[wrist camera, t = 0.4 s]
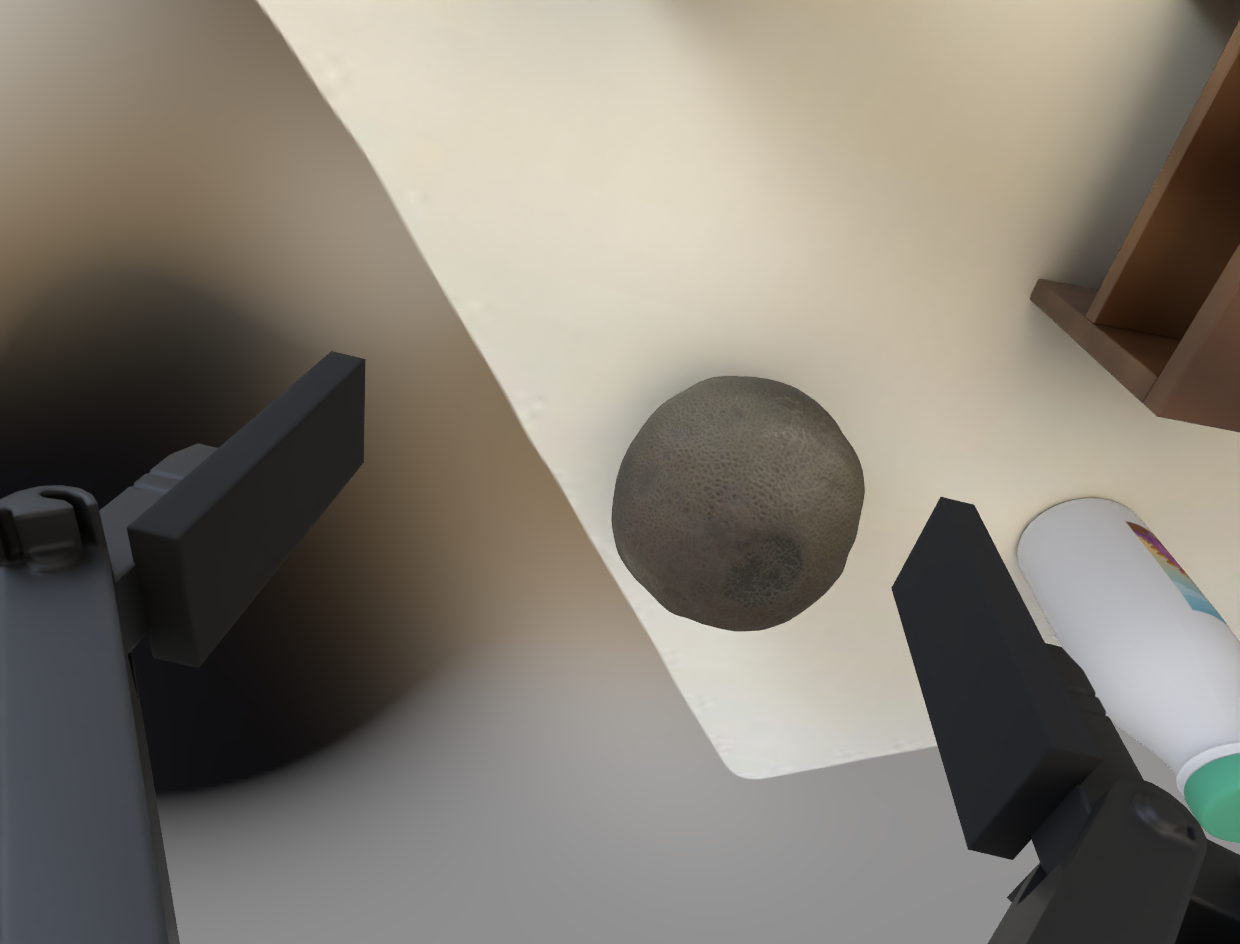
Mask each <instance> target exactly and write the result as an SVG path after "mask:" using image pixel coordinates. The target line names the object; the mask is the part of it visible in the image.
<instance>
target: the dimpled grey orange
mask: <svg viewBox="0 0 1240 944" xmlns="http://www.w3.org/2000/svg"><path fill="white" fill-rule="evenodd" d="M864 493H865V488H864V477H863V471H862V468H861V464H860V461H859V459H858V456H857V455H856V453H855V451H854V449H853V447H852V446H851V445H850V443H849V442H848V440H847V439H846V438H845V436H844V435H843V433H842V431H841V430H840V428H839V426H838V425H837V423H836V422H835V420H834V419H833V418H832V417H831V416H830V414H829V413H828V412H827V411H826V410H825V409H824V408H823V407H821V406H820V405H819V404H818V403H817V402H816V401H815V400H814V399H812V398H811V397H809V396H808V395H806V394H805V393H803V392H801V391H800V390H798V389H796V388H794V387H792V386H790V385H786V384H784V383H781V382H777V381H773V380H768V379H763V378H757V377H738V376H722V377H713V378H710V379H706V380H704V381H702V382H699V383H697V384H696V385H694V386H692V387H690V388H689V389H687V390H685V391H683V392H681V393H680V394H678V395H676V396H674V397H673V398H671V399H669V400H668V401H666V402H665V403H664V404H662V405H661V406H660V407H659V408H658V409H657V410H656V411H655V412H654V413H653V414H652V415H651V416H650V418H649V419H648V420H647V422H646V423H645V424H644V425H643V427H642V428H641V430H640V431H639V433H638V434H637V436H636V437H635V439H634V440H633V441H632V443H631V444H630V446H629V448H628V450H627V452H626V454H625V456H624V459H623V461H622V463H621V466H620V469H619V472H618V476H617V479H616V485H615V491H614V497H613V507H612V528H613V534H614V539H615V544H616V548H617V551H618V554H619V555H620V557H621V560H622V561H623V563H624V564H625V566H626V567H627V569H628V570H629V571H630V573H631V574H632V575H633V577H634V578H635V579H636V580H637V581H638V582H639V583H640V584H641V585H643V586H644V587H645V588H646V589H647V591H648V592H649V593H650V594H651V595H652V596H653V597H654V598H655V599H656V600H657V601H658V602H659V603H660V604H661V605H662V606H663V607H664V608H666V609H667V610H668V611H669V612H671V613H673V614H675V615H678V616H682V617H685V618H689V619H691V620H694V621H696V622H699V623H702V624H705V625H709V626H713V627H716V628H721V629H725V630H731V631H758V630H764V629H768V628H771V627H774V626H776V625H779V624H782V623H785V622H787V621H789V620H791V619H792V618H794V617H795V616H797V615H798V614H800V613H801V612H803V611H804V610H805V609H807V608H808V607H809V606H811V605H812V604H813V603H815V602H816V601H817V600H818V599H819V598H820V597H822V596H823V595H824V594H825V593H826V592H827V591H828V590H829V589H830V587H831V586H832V585H833V584H834V582H835V581H836V580H837V579H838V578H839V577H840V575H841V574H842V572H843V570H844V567H845V564H846V560H847V557H848V554H849V552H850V550H851V548H852V546H853V544H854V541H855V539H856V535H857V530H858V525H859V520H860V515H861V510H862V506H863V500H864Z"/></svg>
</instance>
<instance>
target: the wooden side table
mask: <svg viewBox="0 0 1240 944" xmlns="http://www.w3.org/2000/svg"><path fill="white" fill-rule="evenodd" d="M1030 300H1031V301H1033V302H1034V303H1035V304H1036V305H1037V306H1038V307H1039V308H1040V309H1041V310H1042V311H1043V312H1044V313H1046V314H1047V315H1048V316H1049V317H1050V318H1051V319H1052V320H1053V321H1054V322H1055V323H1056V324H1057V325H1059V326H1060V327H1061V328H1062V329H1063V330H1064V331H1065V332H1066V333H1067V334H1068V335H1069V336H1070V337H1071V338H1073V339H1074V340H1075V341H1076V342H1077V343H1078V344H1079V345H1080V346H1081V347H1082V348H1083V349H1084V350H1086V351H1087V352H1088V353H1089V354H1090V355H1091V356H1092V357H1093V358H1094V359H1095V360H1096V361H1097V362H1099V363H1100V364H1101V365H1102V366H1103V367H1104V368H1105V369H1106V370H1107V371H1108V372H1109V373H1110V374H1111V375H1113V376H1114V377H1115V378H1116V379H1117V380H1118V381H1119V382H1120V383H1121V384H1122V385H1123V386H1124V387H1126V388H1127V389H1128V390H1129V391H1130V392H1131V393H1132V394H1133V395H1134V396H1135V397H1136V398H1137V399H1139V400H1140V401H1141V402H1142V403H1144V405H1145V406H1146V407H1147V408H1148V409H1150V410H1151V411H1152V412H1153V413H1154V414H1155V415H1156V416H1158V417H1163V418H1168V419H1173V420H1179V421H1184V422H1189V423H1194V424H1199V425H1205V426H1210V427H1215V428H1220V429H1225V430H1230V431H1236V432H1240V20H1239V22H1238V24H1237V26H1236V28H1235V30H1234V32H1233V34H1232V36H1231V37H1230V39H1229V41H1228V43H1227V45H1226V47H1225V49H1224V51H1223V53H1222V55H1221V57H1220V59H1219V61H1218V62H1217V64H1216V66H1215V68H1214V70H1213V72H1212V74H1211V76H1210V78H1209V80H1208V82H1207V84H1206V85H1205V87H1204V89H1203V91H1202V93H1201V95H1200V97H1199V99H1198V101H1197V103H1196V105H1195V107H1194V108H1193V110H1192V112H1191V114H1190V116H1189V118H1188V120H1187V122H1186V124H1185V126H1184V128H1183V130H1182V132H1181V133H1180V135H1179V137H1178V139H1177V141H1176V143H1175V145H1174V147H1173V149H1172V151H1171V153H1170V155H1169V156H1168V158H1167V160H1166V162H1165V164H1164V166H1163V168H1162V170H1161V172H1160V174H1159V176H1158V178H1157V179H1156V181H1155V183H1154V185H1153V187H1152V189H1151V191H1150V193H1149V195H1148V197H1147V199H1146V201H1145V203H1144V204H1143V206H1142V208H1141V210H1140V212H1139V214H1138V216H1137V218H1136V220H1135V222H1134V224H1133V226H1132V227H1131V229H1130V231H1129V233H1128V235H1127V237H1126V239H1125V241H1124V243H1123V245H1122V247H1121V249H1120V250H1119V252H1118V254H1117V256H1116V258H1115V260H1114V262H1113V264H1112V266H1111V268H1110V270H1109V272H1108V274H1107V275H1106V277H1105V279H1104V281H1103V283H1102V285H1101V287H1100V289H1099V290H1096V289H1091V288H1085V287H1080V286H1075V285H1070V284H1064V283H1059V282H1054V281H1049V280H1043V279H1039V280H1038V283H1037V285H1036V287H1035V289H1034V291H1033V293H1032V295H1031V297H1030Z"/></svg>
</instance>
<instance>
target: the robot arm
mask: <svg viewBox="0 0 1240 944" xmlns="http://www.w3.org/2000/svg"><path fill="white" fill-rule="evenodd" d="M364 407H365V359H362V358H358V357H354V356H349V355H345V354H341V353H336V352H333V351H331V352H330V353H329V354H328V355H326V357H324V358H323V359H322V360H321V361H319V362H318V363H317V364H316V365H315V366H314V367H313V368H311V369H310V370H309V371H308V372H307V373H306V374H304V375H303V376H302V377H301V378H300V379H299V380H297V381H296V382H295V383H294V384H293V385H292V386H290V387H289V388H288V389H287V390H286V391H285V392H283V393H282V394H281V395H280V396H279V397H278V398H277V399H275V400H274V401H273V402H272V403H271V404H270V405H268V406H267V407H266V408H265V409H264V410H262V411H261V412H260V413H259V414H258V415H257V416H256V417H254V418H253V419H252V420H251V421H250V422H249V423H247V424H246V425H245V426H244V427H243V428H242V429H240V430H239V431H238V432H237V433H236V434H235V435H233V436H232V437H231V438H230V439H229V440H228V441H226V442H225V443H224V444H223V445H222V446H221V447H220V448H215V447H211V446H206V445H202V444H195V445H193V446H190V447H188V448H185V449H183V450H180V451H178V452H175V453H173V454H171V455H169V456H168V457H166V458H165V459H164V460H163V461H161V462H160V463H159V464H158V465H157V466H155V467H154V468H152V469H151V470H150V473H149V474H145V475H144V476H142V477H141V478H140V479H139V480H138V481H136V482H135V483H134V486H133V487H129V488H127V489H126V490H125V491H124V492H122V493H121V494H120V495H119V496H117V497H116V498H115V499H114V500H112V501H111V502H110V503H108V504H107V505H106V506H105V507H104V508H102V509H101V510H100V511H99V507H98V504H97V502H96V500H95V498H94V497H93V495H92V494H90V493H88V492H86V491H84V490H82V489H80V488H75V487H69V486H63V485H57V486H39V487H35V488H31V489H26V490H22V491H18V492H16V493H13V494H11V495H9V496H7V497H4V498H2V499H0V944H180V942H179V936H178V930H177V924H176V918H175V912H174V906H173V899H172V893H171V887H170V882H169V875H168V869H167V863H166V857H165V851H164V845H163V839H162V833H161V827H160V820H159V814H158V808H157V802H156V796H155V790H154V784H153V778H152V772H151V766H150V759H149V753H148V747H147V742H146V735H145V730H144V723H143V717H142V711H141V705H140V699H139V693H138V686H137V680H136V674H135V668H134V663H133V658H132V653H131V651H132V650H133V649H134V647H135V646H136V645H137V644H138V643H139V642H140V641H141V640H142V639H143V638H144V637H145V636H146V634H148V635H149V640H150V645H151V650H152V655H153V658H157V659H161V660H165V661H170V662H174V663H179V664H182V665H187V666H192V667H195V668H199V667H200V665H201V664H202V663H203V662H204V661H205V659H206V658H207V657H208V656H209V654H210V653H211V652H212V651H213V649H214V648H215V647H216V646H217V644H218V643H219V642H220V640H221V639H222V638H223V637H224V636H225V634H226V633H227V632H228V631H229V629H230V628H231V627H232V626H233V624H234V623H235V622H236V621H237V619H238V618H239V617H240V616H241V614H242V613H243V612H244V611H245V609H246V608H247V607H248V606H249V604H250V603H251V602H252V601H253V600H254V598H255V597H256V596H257V594H258V593H259V592H260V591H261V590H262V588H263V587H264V586H265V585H266V583H267V582H268V581H269V579H270V578H271V577H272V576H273V574H274V573H275V572H276V571H277V570H278V568H279V567H280V566H281V565H282V563H283V562H284V561H285V560H286V558H287V557H288V556H289V555H290V553H291V552H292V551H293V550H294V548H295V547H296V546H297V544H298V543H299V542H300V541H301V540H302V538H303V537H304V536H305V535H306V533H307V532H308V531H309V530H310V528H311V527H312V526H313V525H314V523H315V522H316V521H317V520H318V519H319V517H320V516H321V515H322V514H323V512H324V511H325V510H326V509H327V507H328V506H329V505H330V504H331V502H332V501H333V500H334V499H335V497H336V496H337V495H338V494H339V492H340V491H341V490H342V489H343V487H344V486H345V485H346V484H347V482H348V481H349V480H350V479H351V477H352V476H353V475H354V474H355V472H356V471H357V470H358V469H359V467H360V466H361V465H362V463H364ZM892 591H893V595H894V598H895V602H896V605H897V608H898V612H899V615H900V619H901V622H902V625H903V629H904V632H905V636H906V639H907V643H908V646H909V649H910V653H911V656H912V660H913V663H914V666H915V670H916V673H917V677H918V680H919V683H920V687H921V690H922V694H923V697H924V700H925V704H926V707H927V711H928V714H929V718H930V721H931V724H932V728H933V731H934V735H935V738H936V741H937V745H938V748H939V752H940V755H941V758H942V762H943V765H944V768H945V772H946V775H947V779H948V782H949V786H950V789H951V792H952V796H953V799H954V803H955V806H956V809H957V813H958V816H959V820H960V823H961V826H962V830H963V833H964V836H965V840H966V844H967V847H968V850H973V851H977V852H981V853H986V854H990V855H994V856H998V857H1003V858H1007V859H1011V860H1013V859H1014V858H1015V857H1016V856H1017V855H1018V854H1019V852H1020V851H1021V850H1022V849H1023V848H1024V847H1025V846H1026V845H1027V843H1028V842H1029V841H1030V840H1031V839H1032V842H1033V844H1034V847H1035V850H1036V852H1037V855H1038V857H1039V860H1040V863H1039V864H1038V865H1037V866H1036V867H1035V868H1034V869H1033V870H1032V872H1030V873H1029V875H1028V876H1027V877H1026V878H1025V879H1024V880H1023V881H1022V882H1021V883H1020V884H1019V885H1018V886H1017V887H1016V888H1015V889H1014V891H1013V892H1012V893H1011V894H1010V895H1009V896H1008V897H1007V898H1008V899H1009V900H1010V901H1011V902H1012V904H1011V905H1010V907H1009V909H1008V910H1007V912H1006V914H1005V916H1004V917H1003V919H1002V921H1001V922H1000V924H999V926H998V928H997V929H996V931H995V932H994V934H993V936H992V937H991V939H990V941H989V943H988V944H1240V855H1239V854H1236V853H1234V852H1232V851H1230V850H1228V849H1226V848H1224V847H1222V846H1220V845H1218V844H1216V843H1214V842H1212V841H1210V840H1208V839H1207V838H1206V837H1205V834H1204V832H1203V830H1202V828H1201V826H1200V824H1199V822H1198V821H1197V820H1196V819H1195V817H1194V816H1193V815H1192V814H1191V813H1190V812H1189V810H1188V809H1187V808H1186V807H1185V806H1184V805H1183V804H1181V803H1180V802H1179V801H1178V800H1177V799H1176V798H1174V797H1173V796H1172V795H1171V794H1169V793H1168V792H1166V791H1165V790H1163V789H1161V788H1159V787H1158V786H1156V785H1154V784H1152V783H1150V782H1147V781H1144V780H1143V778H1142V776H1141V774H1140V772H1139V771H1138V769H1137V767H1136V765H1135V763H1134V762H1133V760H1132V758H1131V756H1130V754H1129V752H1128V751H1127V749H1126V747H1125V745H1124V743H1123V742H1122V740H1121V738H1120V736H1119V734H1118V732H1117V731H1116V729H1115V727H1114V725H1113V723H1112V721H1111V720H1110V718H1109V717H1108V716H1106V715H1105V714H1106V711H1105V709H1104V707H1103V705H1102V703H1101V701H1100V700H1099V698H1098V697H1095V694H1096V692H1095V691H1094V689H1093V687H1092V685H1091V683H1090V681H1089V680H1088V678H1087V676H1086V674H1085V672H1084V670H1083V669H1082V668H1081V667H1080V666H1079V665H1078V664H1077V663H1076V662H1075V661H1074V660H1073V659H1072V658H1071V657H1070V655H1069V654H1068V653H1067V652H1066V651H1065V650H1064V649H1063V648H1062V647H1059V646H1055V645H1051V644H1047V643H1045V642H1044V640H1043V639H1042V637H1041V635H1040V633H1039V631H1038V629H1037V627H1036V625H1035V623H1034V621H1033V619H1032V617H1031V615H1030V613H1029V611H1028V609H1027V607H1026V605H1025V603H1024V601H1023V599H1022V597H1021V596H1020V594H1019V592H1018V590H1017V588H1016V586H1015V584H1014V582H1013V580H1012V578H1011V576H1010V574H1009V572H1008V570H1007V568H1006V566H1005V564H1004V562H1003V560H1002V558H1001V556H1000V554H999V553H998V551H997V549H996V547H995V545H994V543H993V541H992V539H991V537H990V535H989V533H988V531H987V529H986V527H985V525H984V523H983V521H982V519H981V517H980V515H979V513H978V511H977V510H976V508H975V506H974V505H973V504H968V503H964V502H960V501H956V500H952V499H948V498H943V497H940V499H939V501H938V503H937V505H936V507H935V508H934V510H933V512H932V514H931V516H930V518H929V520H928V521H927V523H926V525H925V527H924V529H923V531H922V533H921V534H920V536H919V538H918V540H917V542H916V544H915V546H914V547H913V549H912V551H911V553H910V555H909V557H908V558H907V560H906V562H905V564H904V566H903V568H902V570H901V571H900V573H899V575H898V577H897V579H896V581H895V583H894V584H893V586H892Z"/></svg>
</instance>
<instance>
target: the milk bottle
mask: <svg viewBox="0 0 1240 944" xmlns="http://www.w3.org/2000/svg"><path fill="white" fill-rule="evenodd" d="M1017 560H1018V565H1019V567H1020V570H1021V572H1022V574H1023V576H1024V578H1025V580H1026V582H1027V584H1028V585H1029V587H1030V589H1031V591H1032V593H1033V595H1034V597H1035V599H1036V600H1037V602H1038V604H1039V606H1040V608H1041V610H1042V612H1043V613H1044V615H1045V617H1046V619H1047V621H1048V623H1049V624H1050V626H1051V628H1052V630H1053V632H1054V634H1055V636H1056V637H1057V639H1058V641H1059V643H1060V645H1061V646H1062V648H1063V649H1064V650H1065V651H1066V652H1067V653H1068V654H1069V655H1070V657H1071V658H1072V659H1073V660H1074V661H1075V662H1076V663H1077V664H1078V665H1079V666H1080V667H1081V668H1082V669H1083V670H1084V672H1085V674H1086V676H1087V678H1088V680H1089V681H1090V683H1091V685H1092V687H1093V689H1094V691H1095V692H1096V694H1095V697H1098V698H1099V700H1100V701H1101V703H1102V705H1103V707H1104V709H1105V711H1106V716H1108V717H1109V718H1110V720H1111V721H1112V722H1114V723H1115V724H1116V725H1117V726H1118V727H1119V728H1120V729H1122V730H1123V731H1124V732H1126V733H1127V734H1128V735H1130V736H1131V737H1132V738H1134V739H1135V740H1137V741H1138V742H1140V743H1141V744H1143V745H1144V746H1145V747H1147V748H1148V749H1150V750H1151V751H1152V752H1153V753H1155V754H1156V755H1157V756H1158V757H1160V759H1161V760H1163V761H1164V762H1165V763H1166V764H1167V765H1168V766H1169V767H1170V768H1171V769H1172V770H1173V771H1174V773H1175V774H1176V775H1177V780H1176V783H1177V787H1178V789H1179V791H1180V793H1181V794H1182V795H1183V796H1185V800H1186V802H1187V804H1188V806H1189V808H1190V810H1191V811H1192V813H1193V815H1194V816H1195V818H1196V820H1197V821H1198V822H1199V824H1200V825H1201V826H1202V827H1203V828H1204V829H1205V830H1206V831H1207V832H1208V833H1209V834H1211V835H1212V836H1214V837H1217V838H1219V839H1222V840H1226V841H1231V842H1237V843H1240V642H1239V640H1238V639H1237V637H1236V636H1235V635H1234V633H1233V632H1232V631H1231V629H1230V628H1229V626H1228V625H1227V624H1226V622H1225V621H1224V620H1223V618H1222V617H1221V616H1220V614H1219V613H1218V612H1217V611H1216V610H1215V608H1214V607H1213V606H1212V605H1211V603H1210V602H1209V601H1208V600H1207V598H1206V597H1205V596H1204V595H1203V594H1202V592H1201V591H1200V590H1199V589H1198V587H1197V586H1196V585H1195V584H1194V582H1193V581H1192V580H1191V579H1190V578H1189V576H1188V575H1187V574H1186V573H1185V571H1184V570H1183V569H1182V568H1181V567H1180V565H1179V564H1178V563H1177V562H1176V561H1175V559H1174V558H1173V557H1172V556H1171V555H1170V553H1169V552H1168V551H1167V550H1166V549H1165V547H1164V546H1163V545H1162V544H1161V543H1160V541H1159V540H1158V539H1157V538H1156V537H1155V535H1154V534H1153V533H1152V532H1151V531H1150V529H1149V528H1148V527H1147V526H1146V525H1145V523H1144V522H1143V521H1142V520H1141V519H1140V518H1139V517H1138V516H1137V515H1136V514H1135V513H1134V512H1133V511H1132V510H1130V509H1129V508H1127V507H1126V506H1124V505H1121V504H1119V503H1116V502H1113V501H1110V500H1105V499H1099V498H1083V499H1076V500H1071V501H1068V502H1064V503H1061V504H1059V505H1056V506H1054V507H1052V508H1049V509H1048V510H1046V511H1045V512H1043V513H1042V514H1040V515H1039V516H1038V517H1037V518H1035V519H1034V520H1033V521H1032V522H1031V523H1030V524H1029V526H1028V527H1027V528H1026V529H1025V530H1024V532H1023V535H1022V536H1021V538H1020V542H1019V545H1018V550H1017Z"/></svg>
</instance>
